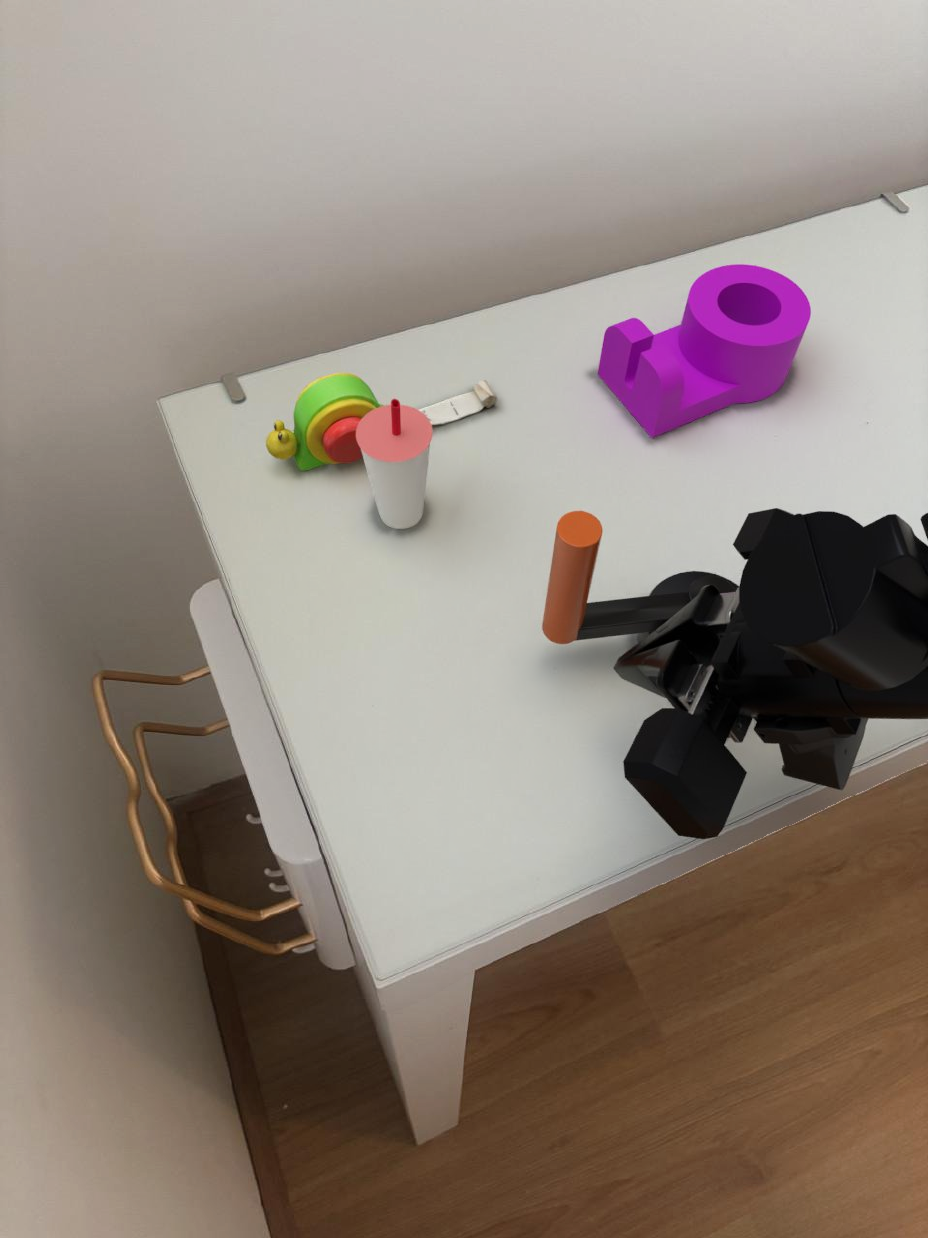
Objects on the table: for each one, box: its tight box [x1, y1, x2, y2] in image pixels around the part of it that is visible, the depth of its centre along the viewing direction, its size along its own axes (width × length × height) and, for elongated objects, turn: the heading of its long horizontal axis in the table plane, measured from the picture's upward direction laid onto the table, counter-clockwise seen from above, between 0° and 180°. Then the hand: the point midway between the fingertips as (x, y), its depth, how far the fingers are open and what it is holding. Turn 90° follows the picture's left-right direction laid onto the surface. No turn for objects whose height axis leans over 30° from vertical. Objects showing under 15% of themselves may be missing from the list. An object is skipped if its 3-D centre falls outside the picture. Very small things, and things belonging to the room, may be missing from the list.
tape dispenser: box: [597, 263, 812, 439], centre depth 77 cm, size 16×10×6 cm, turn 118°
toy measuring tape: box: [265, 372, 497, 472], centre depth 73 cm, size 6×20×7 cm, turn 114°
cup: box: [356, 398, 434, 530], centre depth 66 cm, size 5×5×12 cm
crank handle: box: [541, 510, 736, 645], centre depth 57 cm, size 13×3×12 cm, turn 98°
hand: (619, 668), depth 56 cm, fingers closed
